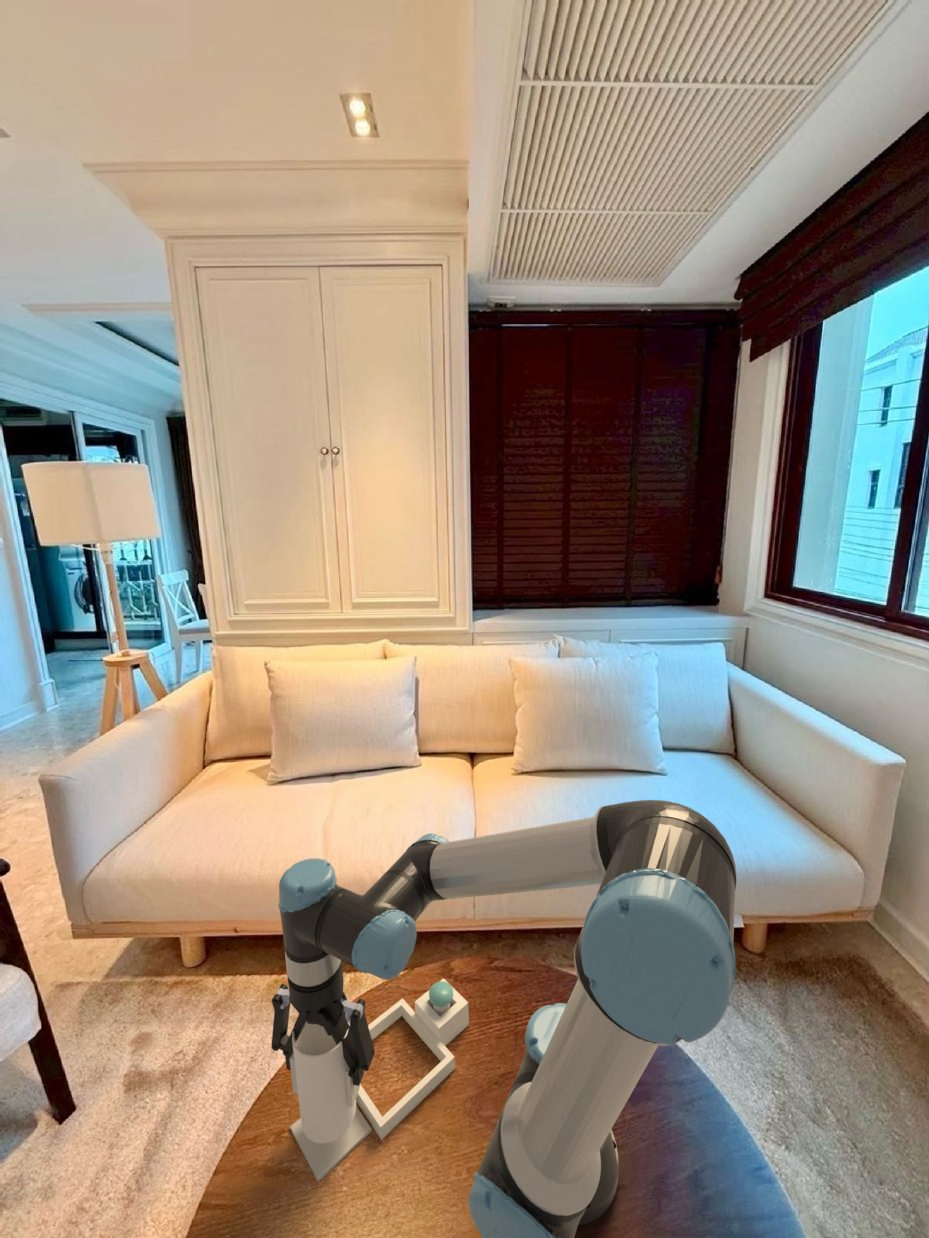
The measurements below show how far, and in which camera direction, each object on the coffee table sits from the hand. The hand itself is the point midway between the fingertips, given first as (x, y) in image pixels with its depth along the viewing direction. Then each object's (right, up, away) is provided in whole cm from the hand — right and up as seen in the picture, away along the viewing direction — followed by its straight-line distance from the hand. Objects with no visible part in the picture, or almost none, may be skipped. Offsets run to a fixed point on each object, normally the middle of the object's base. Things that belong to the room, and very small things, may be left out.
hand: (326, 1090), depth 79 cm
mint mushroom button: (+17, -1, +17) cm, 24 cm away
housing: (+11, -5, +13) cm, 18 cm away
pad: (0, -8, +2) cm, 8 cm away
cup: (0, -4, +1) cm, 4 cm away
